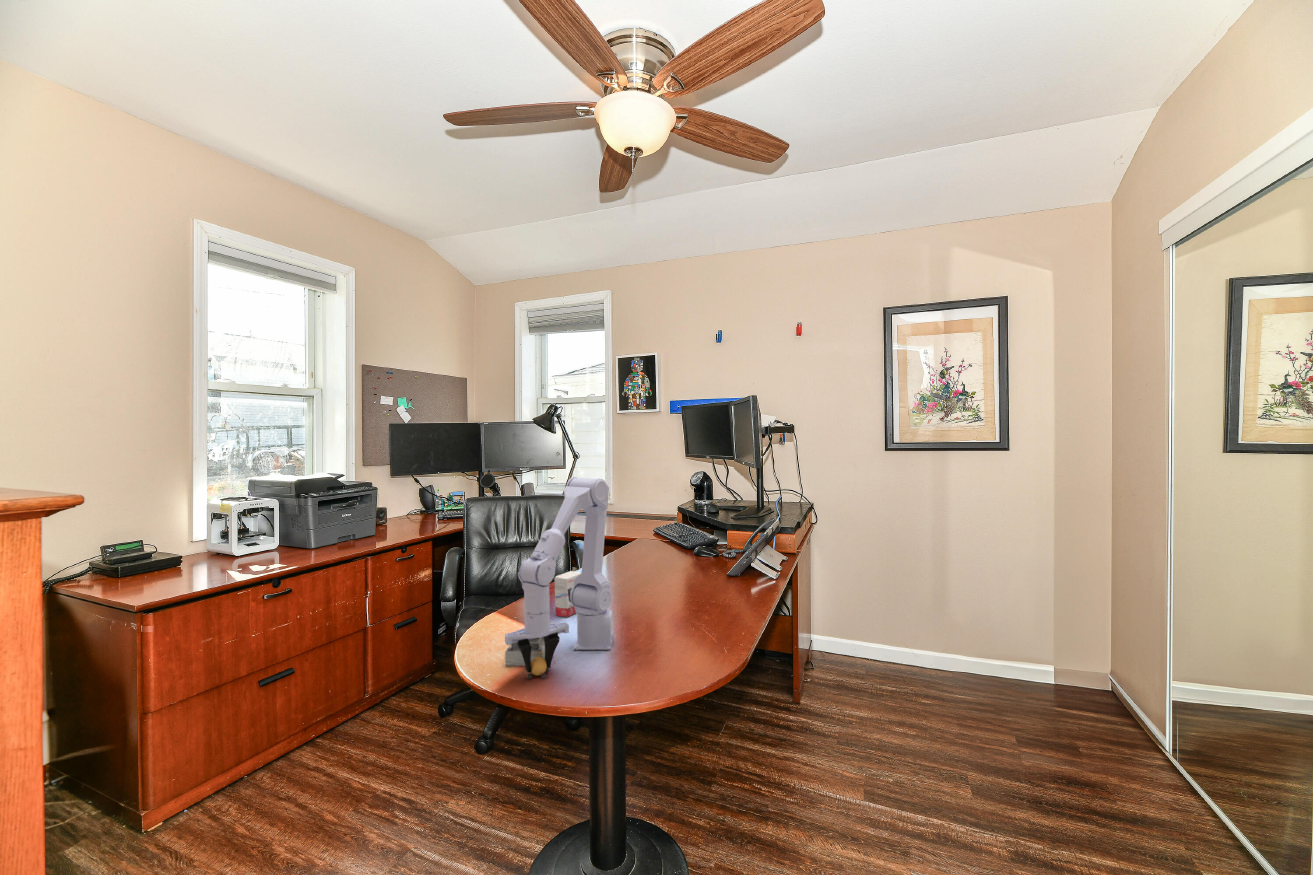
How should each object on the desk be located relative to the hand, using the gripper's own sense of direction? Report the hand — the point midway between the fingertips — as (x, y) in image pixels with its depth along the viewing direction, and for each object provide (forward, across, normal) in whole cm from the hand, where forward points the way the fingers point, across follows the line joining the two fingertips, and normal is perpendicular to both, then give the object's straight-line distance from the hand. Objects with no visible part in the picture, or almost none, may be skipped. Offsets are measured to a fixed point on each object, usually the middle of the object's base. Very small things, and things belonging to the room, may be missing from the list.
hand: (538, 668), depth 123 cm
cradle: (+1, 0, 0) cm, 1 cm away
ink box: (+2, -20, -36) cm, 41 cm away
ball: (+1, 0, 0) cm, 1 cm away
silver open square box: (+1, 0, -10) cm, 10 cm away
